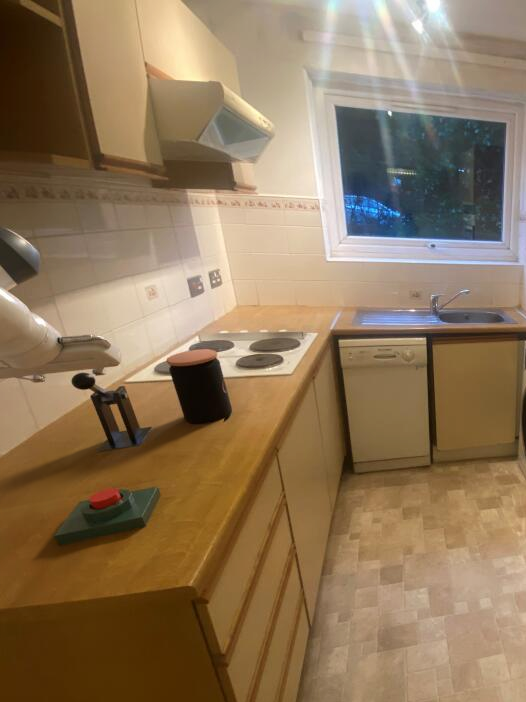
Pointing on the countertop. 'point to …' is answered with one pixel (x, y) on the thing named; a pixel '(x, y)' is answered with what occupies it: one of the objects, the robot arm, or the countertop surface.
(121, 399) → the bracket
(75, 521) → the button box
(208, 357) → the coffee jar
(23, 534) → the countertop surface
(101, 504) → the button
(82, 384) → the lever
